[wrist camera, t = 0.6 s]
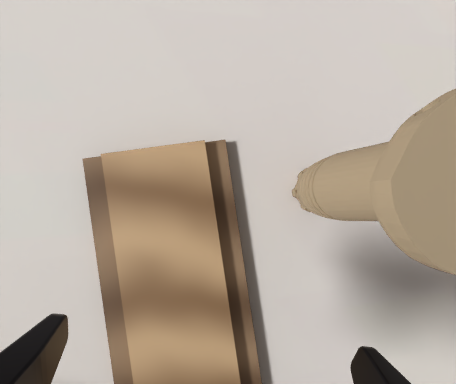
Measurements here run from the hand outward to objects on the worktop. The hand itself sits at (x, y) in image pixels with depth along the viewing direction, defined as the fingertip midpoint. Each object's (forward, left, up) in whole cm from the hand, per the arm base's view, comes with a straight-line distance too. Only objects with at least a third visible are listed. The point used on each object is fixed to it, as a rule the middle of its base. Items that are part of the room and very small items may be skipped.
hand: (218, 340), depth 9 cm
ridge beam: (-3, +3, -13) cm, 14 cm away
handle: (+4, -8, -14) cm, 16 cm away
